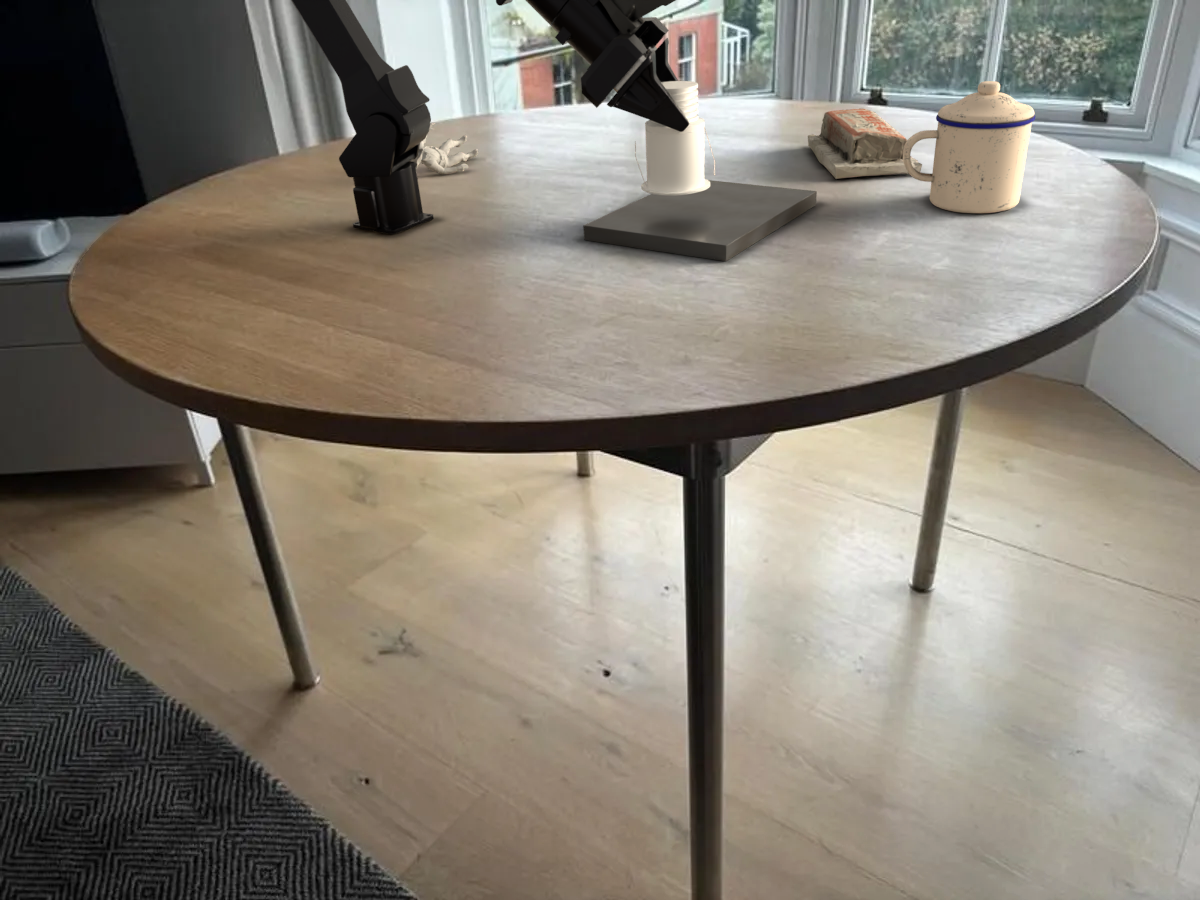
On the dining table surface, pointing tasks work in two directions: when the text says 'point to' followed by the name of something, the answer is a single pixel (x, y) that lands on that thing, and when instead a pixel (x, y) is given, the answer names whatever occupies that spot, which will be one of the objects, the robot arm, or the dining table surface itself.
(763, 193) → the slate board
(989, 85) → the teacup with lid
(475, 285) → the dining table surface
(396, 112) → the robot arm
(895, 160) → the packaged product
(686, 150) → the downlight
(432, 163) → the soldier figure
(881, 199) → the dining table surface
